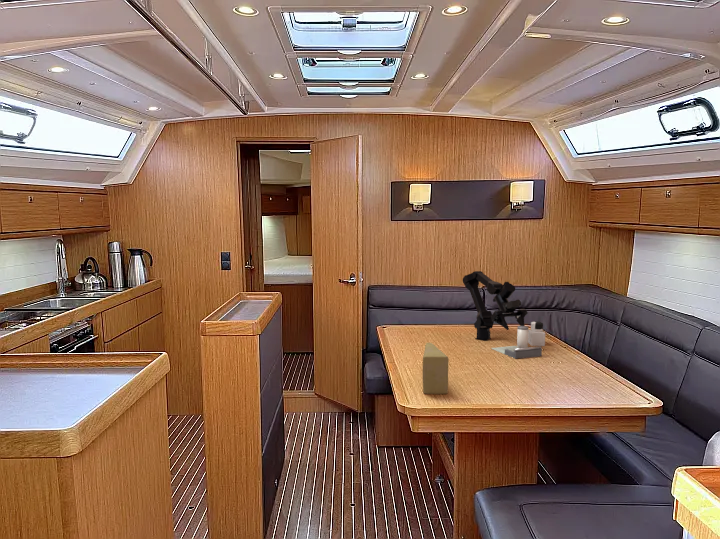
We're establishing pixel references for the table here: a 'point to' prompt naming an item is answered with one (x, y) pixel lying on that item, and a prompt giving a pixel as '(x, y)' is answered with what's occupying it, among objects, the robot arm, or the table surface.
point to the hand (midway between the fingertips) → (516, 329)
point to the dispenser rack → (524, 352)
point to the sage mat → (502, 349)
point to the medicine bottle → (536, 334)
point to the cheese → (435, 370)
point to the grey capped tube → (522, 337)
